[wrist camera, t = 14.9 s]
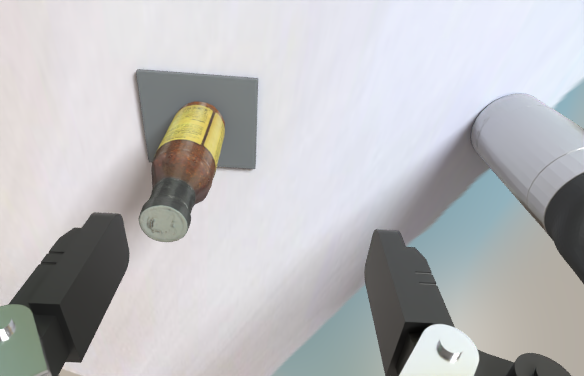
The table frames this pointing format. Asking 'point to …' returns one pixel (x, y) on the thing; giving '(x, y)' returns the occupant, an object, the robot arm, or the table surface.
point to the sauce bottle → (182, 170)
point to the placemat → (210, 89)
